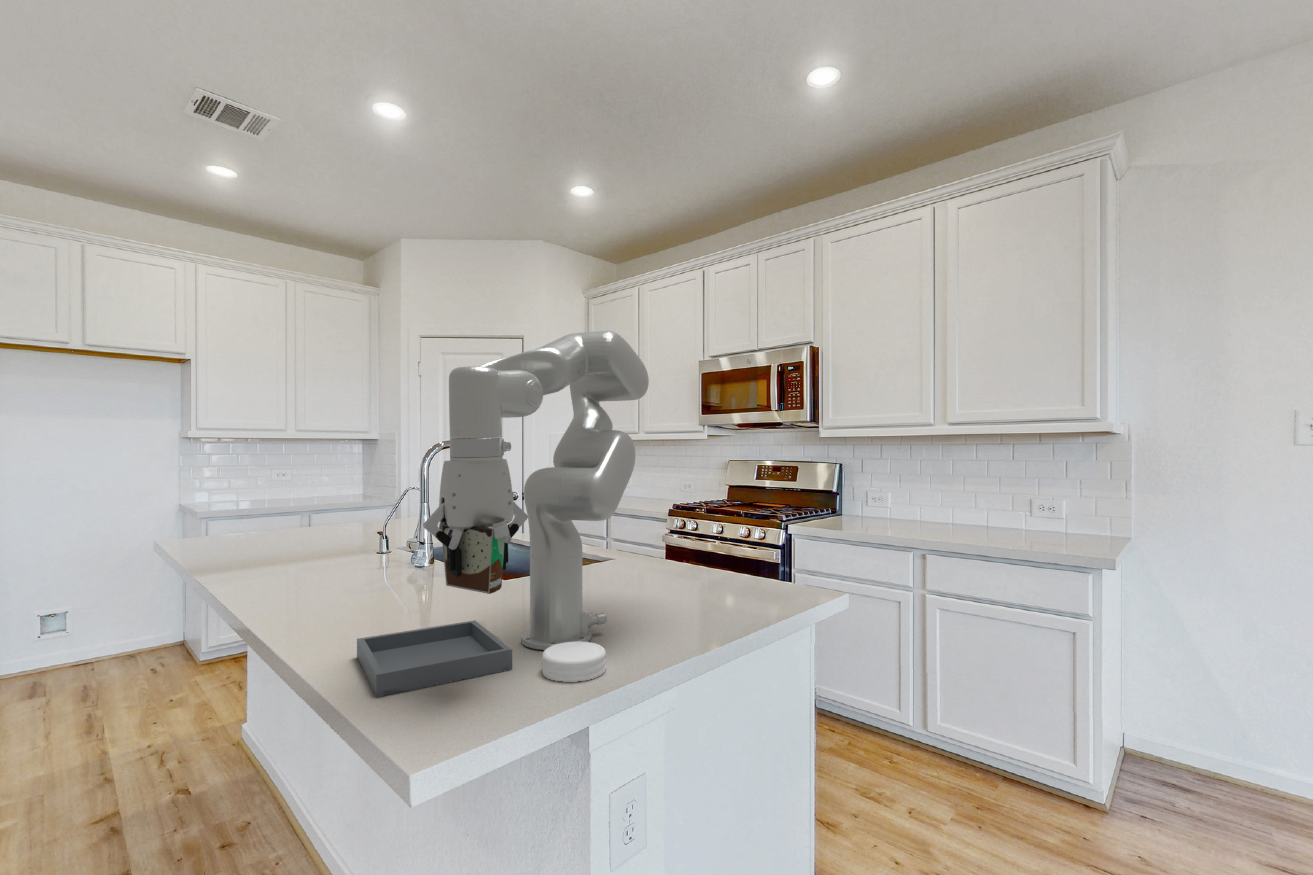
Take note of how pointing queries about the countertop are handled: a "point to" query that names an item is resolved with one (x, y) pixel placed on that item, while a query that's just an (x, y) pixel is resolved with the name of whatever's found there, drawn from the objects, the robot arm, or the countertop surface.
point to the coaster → (573, 661)
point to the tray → (430, 657)
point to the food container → (479, 558)
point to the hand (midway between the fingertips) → (478, 570)
